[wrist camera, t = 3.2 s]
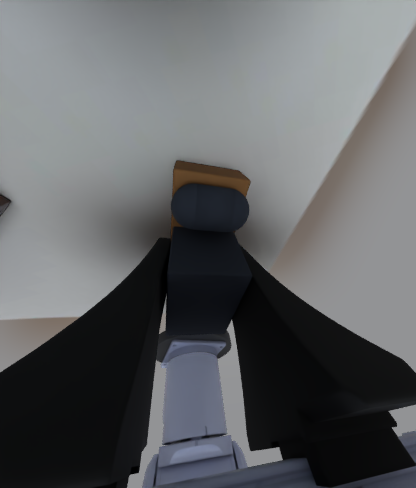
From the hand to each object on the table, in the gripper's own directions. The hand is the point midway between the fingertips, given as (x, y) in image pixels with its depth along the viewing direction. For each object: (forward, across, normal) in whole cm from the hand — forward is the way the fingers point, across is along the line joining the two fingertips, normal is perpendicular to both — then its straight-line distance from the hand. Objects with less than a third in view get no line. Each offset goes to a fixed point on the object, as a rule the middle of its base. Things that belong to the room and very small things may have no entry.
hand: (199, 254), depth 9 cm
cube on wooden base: (+1, 0, -1) cm, 2 cm away
